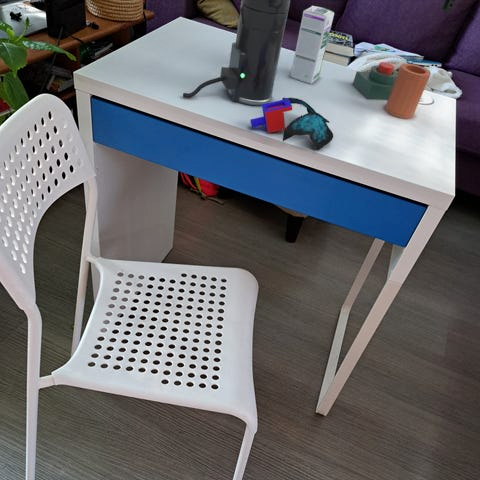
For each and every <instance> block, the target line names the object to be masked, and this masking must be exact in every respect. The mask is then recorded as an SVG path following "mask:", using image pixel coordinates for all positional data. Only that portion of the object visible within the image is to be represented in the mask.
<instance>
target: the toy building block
mask: <svg viewBox="0 0 480 480" xmlns="http://www.w3.org/2000/svg"><path fill="white" fill-rule="evenodd" d="M282 99H283V98H282ZM282 99H280V100H275V101H272V102H271V101H270V102H269V103H267V104H262V105H261V108H262V115H263V116H260V117H255V118H252V119H250V126H251V128H252V129H254V128H257V127H262V126H265V129H266V132H267V134H270V133H275V132H279V131H284V129H285V128H286V122H285V113H286V112H291V111H293V105H292V104H291V103H290V101H289V99H283V100H282Z"/></svg>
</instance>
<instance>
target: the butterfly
mask: <svg viewBox="0 0 480 480" xmlns="http://www.w3.org/2000/svg"><path fill="white" fill-rule="evenodd" d="M283 99H289V101H290V103H291V105H292V104H293V105H295V104H296V105H300V107H304V108H306V112H307V113H305V114H301V115H300V116H299V117H297V118H295V119H293V120H292V121H291V122H290V123H289V124H288V125H286V126H285V129H284V130H283V133H282V134H283V135H282V142H285V141H287V140H288V139H290V138H292V137H295V136H309V139H310V141H311V144H312V145H313V147H314V148H315V149H316V150H317V151H319V150H320V149H322V148H324V147H325V146H327V145H328V144H329V143H331V142H332V140H333V139H334V133H333V131H332V130H331V129H330V127H329V126H328V124H330V121H329V120H328V119H327V118H325V117H324V116H323V115H322V114H320V113H319V112H317V111H316V110H315V109H314V108H313V107H312V106H311V105H310V104H309V103H308V102H306V101H304V100H303V99H300V98H297V97H282V99H281V100H283ZM327 123H328V124H327Z"/></svg>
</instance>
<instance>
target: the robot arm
mask: <svg viewBox="0 0 480 480" xmlns="http://www.w3.org/2000/svg"><path fill="white" fill-rule="evenodd" d="M456 3H457V0H443V1H442V4H441V6H440V12H442V13H445V14H450V13H452V11H453V9H454V7H455V6H456ZM290 5H291V0H241V1H240V7H239V15H238V22H237V29H236V37H235V41H234V42H232V43H231V50H230V57H229V66H228V67H227V66H222V67H221V69H220V76H219V77H216V78H211V79H209V80H206V81H204V82H202V83H201V84H200V85H198V86H197V87H196V88H195V89H194V90H193V91H192V92H189V93H188V92H183V93H182V96H183V98H188V99H189V98H190V99H191V98H193V97H195V96H196V95H198V93H199V92H200V91H201V90H203V89H204V88H206V87H208V86H210V85H213V84H216V83H217V84H218V83H220V82H221V83H222V85H223V86H224V88H225V90H226V92H227V94H228V95H229V97H230V98H231V100H232V102H237V103H242V104H245V105H249V106H250V105H251V106H262V104H267V103H271V101H272V99H273V91H274V86H275V79H276V74H277V69H278V64H279V60H280V55H281V49H282V44H283V39H284V35H285V30H286V26H287V25H286V24H287V19H288V14H289V10H290Z"/></svg>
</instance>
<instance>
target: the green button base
mask: <svg viewBox="0 0 480 480" xmlns="http://www.w3.org/2000/svg"><path fill="white" fill-rule="evenodd" d="M378 66H379V65H373V66H371V67H370V70H369V71H361V70H360V71H359V70H357V71H356V72H355V76H354V79H353V81H352V86H353V87H354V88H356V90H358V91H359V92H360V94H362V95H363V96H364V97H365V99H367V100H388V99H389V96H390V93H391V90H392V88H393V85H394V82H395V79H396V77H397V74H398V72H397V71H396V70H395V69H393V72H392V75H386V74H382V73H380V72H378V71H377V69H378Z"/></svg>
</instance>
